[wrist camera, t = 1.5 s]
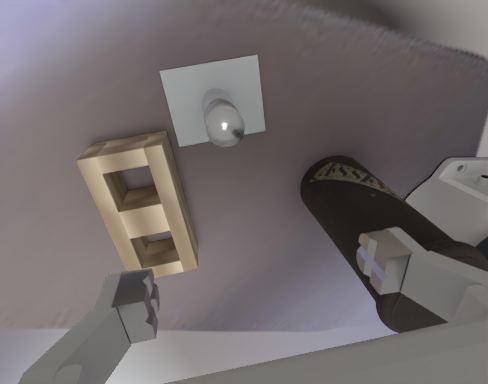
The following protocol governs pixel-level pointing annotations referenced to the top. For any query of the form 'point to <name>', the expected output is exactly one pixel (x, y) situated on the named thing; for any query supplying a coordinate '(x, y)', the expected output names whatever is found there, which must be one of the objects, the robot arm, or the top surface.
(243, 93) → the mat
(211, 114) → the peg
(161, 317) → the top surface
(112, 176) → the socket block
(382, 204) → the container
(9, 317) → the top surface
